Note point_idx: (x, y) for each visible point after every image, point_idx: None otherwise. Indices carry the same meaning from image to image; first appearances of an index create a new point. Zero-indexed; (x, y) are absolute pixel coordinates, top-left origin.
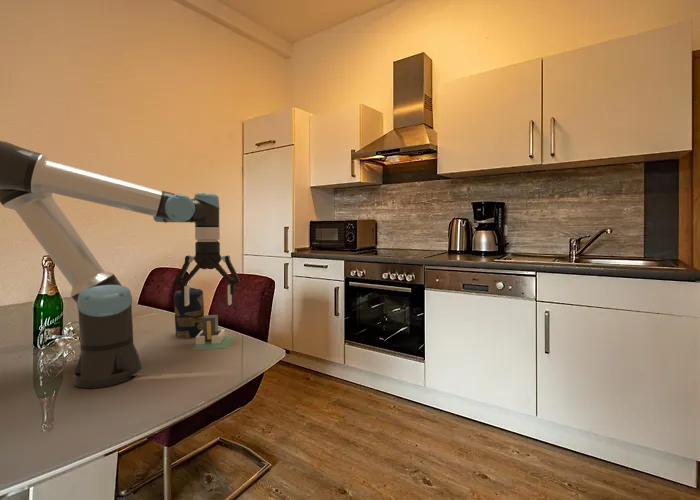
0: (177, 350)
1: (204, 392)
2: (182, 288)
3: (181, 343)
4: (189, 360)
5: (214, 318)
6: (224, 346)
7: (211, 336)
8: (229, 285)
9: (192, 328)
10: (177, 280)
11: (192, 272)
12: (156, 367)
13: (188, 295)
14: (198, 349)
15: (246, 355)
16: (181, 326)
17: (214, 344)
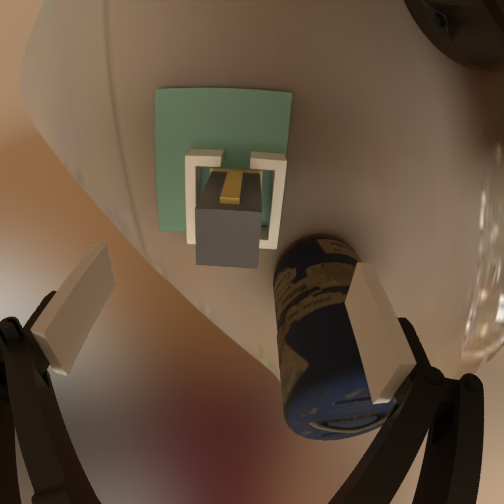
0: (343, 145)
1: None
2: (418, 356)
3: (340, 219)
4: (280, 27)
5: (198, 206)
6: (168, 108)
7: (220, 156)
8: (36, 335)
9: (312, 260)
10: (473, 397)
11: (374, 494)
12: (372, 3)
13: (363, 332)
14: (263, 91)
15: (96, 52)
16: (354, 266)
17: (211, 139)
